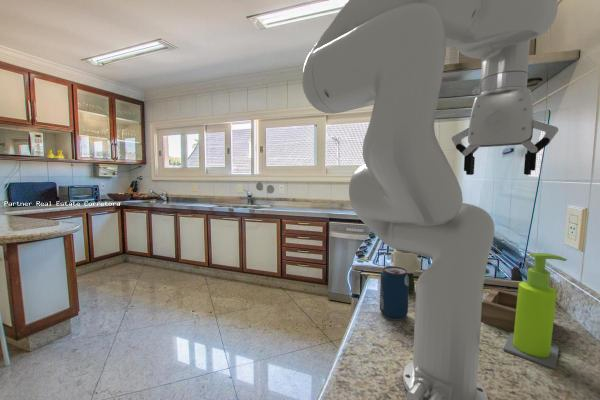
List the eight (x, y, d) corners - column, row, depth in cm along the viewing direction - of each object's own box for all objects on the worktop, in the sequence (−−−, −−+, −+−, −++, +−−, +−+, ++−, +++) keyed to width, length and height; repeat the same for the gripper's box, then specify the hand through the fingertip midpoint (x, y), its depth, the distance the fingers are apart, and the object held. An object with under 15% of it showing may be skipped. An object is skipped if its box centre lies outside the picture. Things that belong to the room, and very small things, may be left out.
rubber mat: (555, 369, 52) (555, 367, 51) (503, 350, 57) (503, 348, 57) (558, 349, 58) (558, 346, 58) (511, 333, 64) (511, 331, 63)
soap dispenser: (563, 360, 53) (575, 260, 51) (522, 355, 55) (532, 257, 53) (543, 342, 59) (553, 251, 57) (507, 338, 61) (515, 249, 59)
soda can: (413, 316, 71) (415, 271, 70) (396, 324, 67) (398, 276, 66) (390, 306, 77) (392, 263, 76) (373, 313, 73) (375, 268, 72)
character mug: (426, 294, 84) (428, 253, 83) (411, 299, 81) (413, 256, 80) (397, 282, 94) (399, 245, 93) (382, 287, 90) (384, 247, 89)
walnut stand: (548, 343, 60) (549, 320, 60) (480, 321, 69) (482, 302, 68) (552, 322, 69) (554, 302, 68) (492, 305, 78) (493, 288, 77)
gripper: (448, 93, 58) (444, 174, 60) (561, 71, 46) (553, 174, 47) (459, 100, 64) (455, 175, 65) (563, 82, 51) (556, 174, 53)
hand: (496, 174), depth 56 cm, fingers open, 9 cm apart
